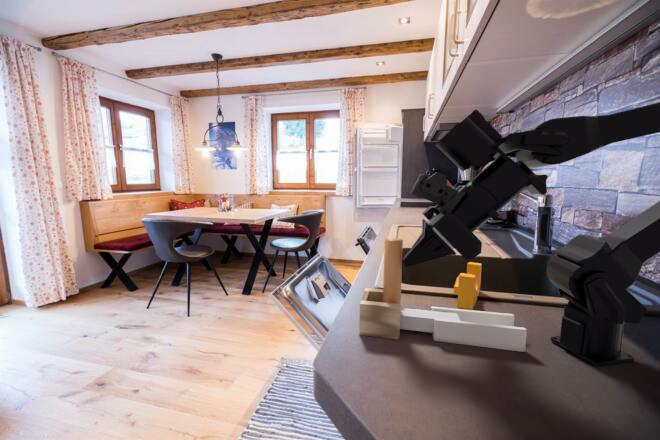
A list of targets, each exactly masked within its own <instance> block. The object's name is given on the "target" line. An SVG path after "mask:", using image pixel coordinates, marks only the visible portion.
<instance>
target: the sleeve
mask: <svg viewBox="0 0 660 440" xmlns="http://www.w3.org/2000/svg"><path fill="white" fill-rule="evenodd" d="M430 311H439V312H449V313H457V314H458V317H459V319H460V321H456V320H447V319H437V318H434V333H431V334H432V337H433V338H432V339H433V341H435V342H440V343H448V344H449V343H450V344H457V345H465V346H472V347H473V346H475V347H483V348H490V349H497V350H507V351H515V352H523V353H525V352H526V345H527V344H526V343H527V333H528V330H527V328H526V327H522V326H521V327H520V326H515V324H514V323H515V315H514V313H506V312H505V313H504V312H495V311H483V310H475V309H473V310H467V309H463V308H453V307H445V306H444V307H441V306H433V305H432V306H431V307H430Z"/></svg>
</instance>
